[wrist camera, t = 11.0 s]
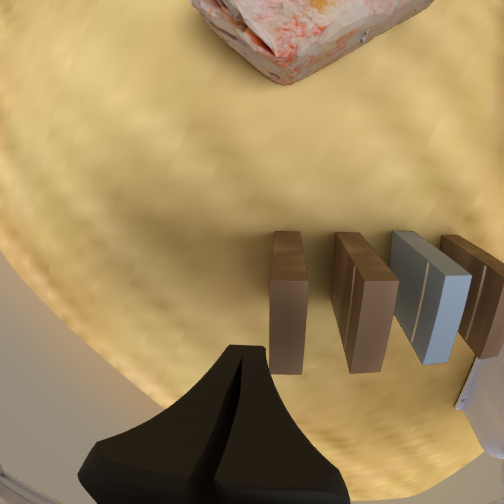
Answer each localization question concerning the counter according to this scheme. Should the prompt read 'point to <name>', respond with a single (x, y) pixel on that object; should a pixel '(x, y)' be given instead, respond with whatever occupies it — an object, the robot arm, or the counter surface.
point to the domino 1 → (287, 304)
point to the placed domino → (427, 295)
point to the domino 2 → (362, 302)
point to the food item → (301, 30)
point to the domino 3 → (479, 296)
